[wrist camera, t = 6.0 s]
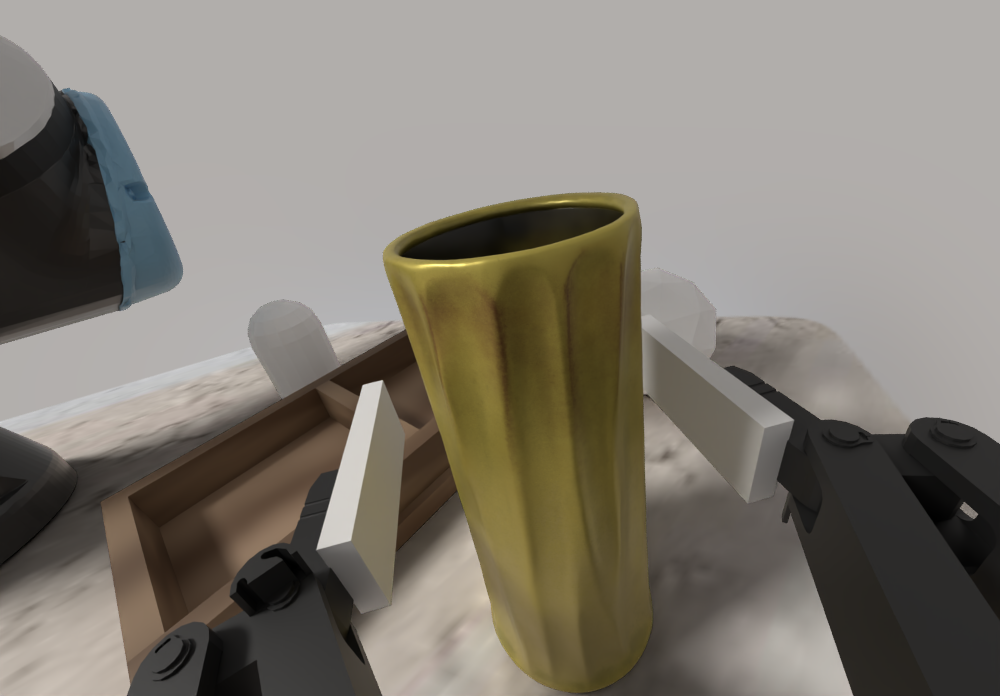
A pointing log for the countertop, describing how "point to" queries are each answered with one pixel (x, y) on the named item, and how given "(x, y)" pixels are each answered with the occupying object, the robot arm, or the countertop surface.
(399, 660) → the countertop surface
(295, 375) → the white dome-topped block
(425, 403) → the tray
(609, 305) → the vase
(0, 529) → the robot arm
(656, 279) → the ball
